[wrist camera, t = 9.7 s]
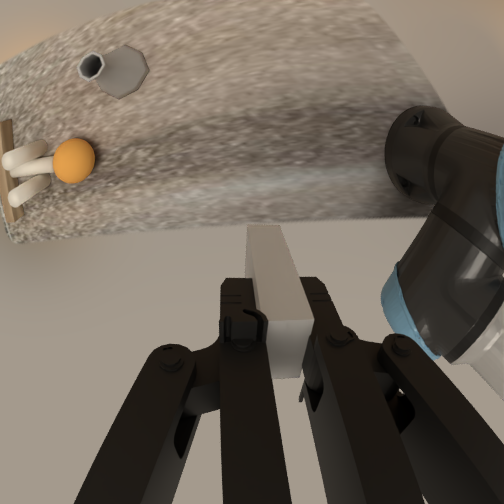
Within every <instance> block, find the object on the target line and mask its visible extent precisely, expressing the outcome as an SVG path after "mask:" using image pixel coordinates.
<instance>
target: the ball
mask: <svg viewBox="0 0 504 504" xmlns="http://www.w3.org/2000/svg"><path fill="white" fill-rule="evenodd" d="M94 163H95V155H94V151H93V149H92V147H91V146H90V144H89V143H88V142H86V141H84V140H82V139H78V138H73V139H69V140H67V141H65V142H63V143H62V144H61V145H60V146H59V147H58V148H57V150H56V152H55V154H54V157H53V169H54V172H55V174H56V175H57V177H58V178H59V179H60V180H62V181H64V182H66V183H78V182H80V181H82V180H84V179H85V178H86V177H87V176H88V175H89V174H90V173H91V171H92V169H93V167H94Z"/></svg>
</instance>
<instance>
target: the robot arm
mask: <svg viewBox="0 0 504 504" xmlns="http://www.w3.org/2000/svg"><path fill="white" fill-rule="evenodd" d="M385 161H386V167H387V171H388V174H389V176H390V179H391V181H392V182H393V184H394V185H395V186H396V188H397V189H398V190H399V191H400V192H402V193H403V194H404V195H406V196H407V197H409V198H410V199H412V200H414V201H417V202H420V203H426V204H435V206H434V208H433V210H432V211H431V213H430V214H429V216H428V218H427V220H426V222H425V223H424V225H423V226H422V228H421V230H420V231H419V233H418V234H417V236H416V238H415V239H414V241H413V242H412V244H411V245H410V247H409V248H408V250H407V251H406V253H405V254H404V256H403V257H402V259H401V260H400V261H399V262H397V263H396V264H395V267H394V271H393V272H392V274H391V276H390V277H389V279H388V280H387V282H386V283H385V285H384V287H383V289H382V292H381V304H382V307H383V311H384V314H385V317H386V319H387V321H388V323H389V324H390V326H391V328H392V329H393V331H394V332H395V333H394V334H389V335H388V336H386V337H385V339H384V341H383V343H374V342H368V341H363V340H360V339H359V338H358V336H357V335H356V333H355V332H354V331H353V330H351V329H350V328H348V327H346V326H343V324H342V322H341V320H340V317H339V315H338V313H337V311H336V308H335V306H334V304H333V302H332V301H331V297H330V295H329V294H328V291H327V289H326V287H325V284H324V283H322V282H321V281H320V280H319V279H318V278H317V277H299V276H298V273H297V270H296V268H295V265H294V262H293V259H292V257H291V254H290V252H289V249H288V246H287V243H286V241H285V238H284V236H283V233H282V231H281V228H280V225H251V224H247V243H246V263H245V278H226V279H225V280H224V282H223V283H222V285H221V293H220V294H221V295H220V320H219V337H218V339H217V340H216V341H215V343H213V344H212V345H210V346H209V347H207V348H204V349H201V350H197V351H193V352H191V351H190V350H189V349H188V348H187V347H184V346H182V345H179V344H167V345H162V346H160V347H158V348H156V349H154V350H153V352H152V353H151V354H150V355H149V357H148V358H147V360H146V362H145V364H144V366H143V368H142V369H141V371H140V373H139V375H138V377H137V379H136V380H135V382H134V384H133V386H132V388H131V390H130V392H129V394H128V395H127V397H126V399H125V401H124V403H123V405H122V407H121V409H120V411H119V413H118V414H117V416H116V418H115V420H114V422H113V424H112V426H111V428H110V430H109V432H108V434H107V436H106V438H105V440H104V442H103V444H102V446H101V448H100V450H99V452H98V454H97V456H96V458H95V460H94V462H93V464H92V466H91V468H90V470H89V472H88V474H87V477H86V479H85V481H84V483H83V485H82V487H81V489H80V491H79V493H78V496H77V498H76V500H75V502H74V504H172V501H173V498H174V495H175V492H176V489H177V487H178V484H179V480H180V477H181V474H182V472H183V469H184V466H185V463H186V459H187V456H188V453H189V450H190V447H191V444H192V441H193V438H194V435H195V432H196V429H197V426H198V423H199V420H200V417H201V414H204V413H208V412H211V411H215V410H218V409H220V428H221V462H222V463H221V464H222V489H223V504H292V501H291V495H290V489H289V483H288V477H287V471H286V465H285V458H284V452H283V445H282V439H281V433H280V426H279V420H278V415H277V408H276V402H275V396H274V389H273V383H272V379H282V378H283V379H284V378H299V377H300V374H301V370H302V369H303V373H304V377H305V379H304V383H303V386H302V389H301V392H300V396H299V402H302V401H303V398H305V402H306V407H307V411H308V415H309V420H310V424H311V429H312V433H313V438H314V442H315V447H316V451H317V456H318V461H319V465H320V469H321V474H322V479H323V484H324V488H325V493H326V497H327V503H328V504H425V503H424V500H423V496H424V498H425V499H426V501H427V502H428V504H504V444H503V443H502V442H501V440H500V439H499V438H498V437H497V435H496V434H495V433H494V432H493V430H492V429H491V428H490V427H489V425H488V424H487V423H486V422H485V420H484V419H483V418H482V417H481V416H480V414H479V413H478V412H477V411H476V410H475V408H474V407H473V406H472V405H471V404H470V403H469V401H468V400H467V399H466V398H465V397H464V395H463V394H462V393H461V392H460V391H459V390H458V388H456V386H455V385H454V384H453V383H452V381H451V380H450V379H449V378H448V377H447V376H446V375H445V374H444V373H443V371H442V370H441V369H440V368H439V367H438V366H437V365H436V363H435V362H434V361H433V360H435V359H438V358H439V357H440V356H441V355H442V356H443V357H444V358H445V359H446V360H447V361H448V362H449V363H450V364H451V365H458V364H469V365H471V367H473V369H474V370H475V371H476V372H477V373H478V374H479V375H480V376H481V377H482V378H483V379H484V380H485V381H486V382H487V383H488V384H489V386H490V387H491V388H492V389H493V390H494V391H495V392H496V393H497V394H498V395H499V396H500V398H501V399H502V400H503V401H504V277H503V276H502V274H503V273H504V138H503V137H500V136H497V135H494V134H491V133H487V132H484V131H481V130H477V129H474V128H470V127H466V126H464V125H463V124H461V123H460V122H459V121H458V120H456V119H455V118H454V117H453V116H451V115H450V114H449V113H447V112H446V111H444V110H442V109H439V108H436V107H430V106H416V107H412V108H410V109H408V110H406V111H405V112H403V113H402V114H401V115H400V116H399V117H398V118H397V119H396V121H395V122H394V124H393V125H392V127H391V129H390V131H389V134H388V137H387V141H386V147H385ZM399 389H401V390H402V391H403V393H404V394H402V393H401V392H399ZM422 495H423V496H422Z"/></svg>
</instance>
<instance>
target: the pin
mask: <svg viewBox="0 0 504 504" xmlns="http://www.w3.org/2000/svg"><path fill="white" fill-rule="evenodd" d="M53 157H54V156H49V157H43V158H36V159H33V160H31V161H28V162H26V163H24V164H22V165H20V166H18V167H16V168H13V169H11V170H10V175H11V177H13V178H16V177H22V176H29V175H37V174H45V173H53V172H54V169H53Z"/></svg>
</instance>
